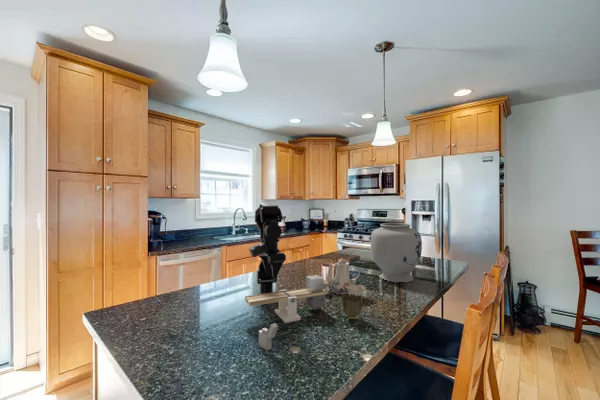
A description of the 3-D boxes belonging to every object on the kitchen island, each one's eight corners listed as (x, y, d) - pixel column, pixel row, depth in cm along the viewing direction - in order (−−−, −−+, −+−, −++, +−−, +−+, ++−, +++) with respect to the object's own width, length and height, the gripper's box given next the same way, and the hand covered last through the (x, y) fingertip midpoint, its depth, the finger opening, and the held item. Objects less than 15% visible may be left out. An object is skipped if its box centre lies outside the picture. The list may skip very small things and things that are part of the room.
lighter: (258, 345, 85) (258, 318, 85) (263, 343, 86) (263, 316, 86) (273, 354, 79) (273, 325, 80) (278, 352, 81) (278, 323, 81)
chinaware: (305, 299, 130) (303, 263, 129) (317, 285, 145) (316, 253, 144) (367, 307, 119) (366, 268, 118) (373, 291, 134) (372, 257, 133)
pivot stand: (274, 311, 111) (274, 290, 111) (288, 309, 113) (288, 288, 113) (285, 323, 100) (285, 299, 100) (301, 320, 103) (300, 296, 103)
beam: (245, 313, 104) (244, 296, 104) (318, 301, 116) (318, 285, 116) (250, 321, 97) (250, 302, 97) (327, 307, 110) (327, 290, 110)
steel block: (305, 289, 113) (305, 276, 113) (317, 287, 115) (317, 274, 115) (311, 292, 108) (311, 279, 108) (323, 290, 110) (323, 277, 110)
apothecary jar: (431, 285, 143) (430, 225, 144) (377, 285, 144) (377, 225, 144) (411, 272, 170) (410, 221, 170) (366, 272, 171) (365, 222, 171)
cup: (363, 324, 99) (362, 300, 99) (341, 322, 100) (341, 299, 100) (362, 315, 106) (362, 294, 106) (342, 314, 107) (342, 292, 108)
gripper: (244, 235, 120) (245, 272, 120) (257, 240, 103) (257, 284, 103) (270, 233, 124) (270, 269, 124) (286, 238, 107) (286, 280, 107)
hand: (270, 275), depth 115 cm, fingers open, 9 cm apart
